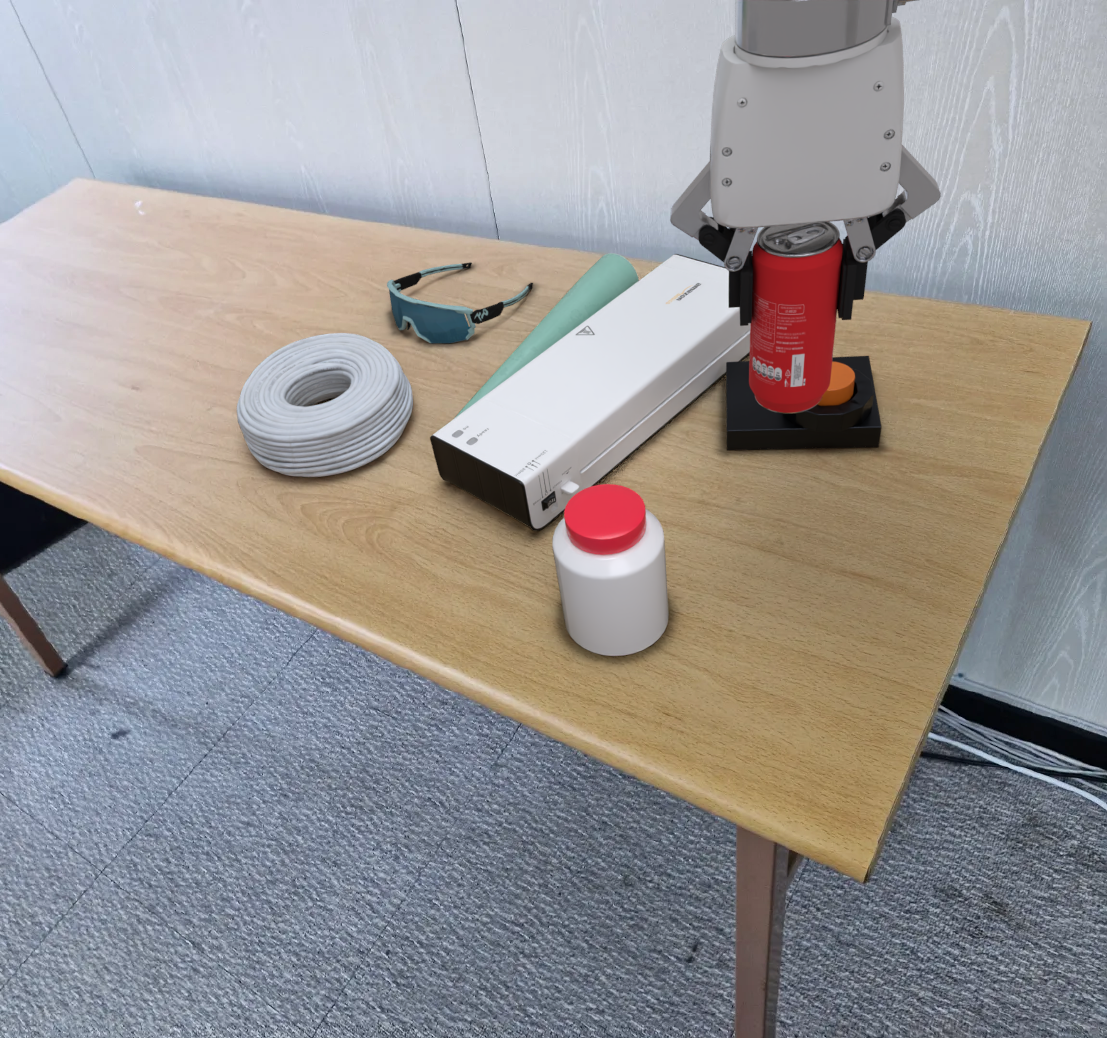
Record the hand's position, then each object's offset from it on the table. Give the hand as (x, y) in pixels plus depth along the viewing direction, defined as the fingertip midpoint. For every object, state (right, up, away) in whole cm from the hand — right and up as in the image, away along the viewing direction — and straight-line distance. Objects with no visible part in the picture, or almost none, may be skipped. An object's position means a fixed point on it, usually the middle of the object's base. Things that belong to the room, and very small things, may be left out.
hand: (793, 308), depth 63 cm
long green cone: (-12, +2, +37) cm, 39 cm away
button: (+10, -3, +19) cm, 22 cm away
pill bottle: (-9, -21, +11) cm, 25 cm away
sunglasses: (-19, +10, +48) cm, 53 cm away
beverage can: (+1, -5, +5) cm, 7 cm away
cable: (-33, -4, +37) cm, 49 cm away
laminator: (-5, -4, +29) cm, 29 cm away
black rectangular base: (+9, -4, +23) cm, 25 cm away
